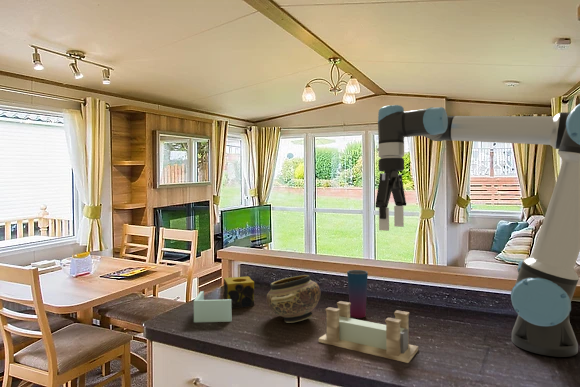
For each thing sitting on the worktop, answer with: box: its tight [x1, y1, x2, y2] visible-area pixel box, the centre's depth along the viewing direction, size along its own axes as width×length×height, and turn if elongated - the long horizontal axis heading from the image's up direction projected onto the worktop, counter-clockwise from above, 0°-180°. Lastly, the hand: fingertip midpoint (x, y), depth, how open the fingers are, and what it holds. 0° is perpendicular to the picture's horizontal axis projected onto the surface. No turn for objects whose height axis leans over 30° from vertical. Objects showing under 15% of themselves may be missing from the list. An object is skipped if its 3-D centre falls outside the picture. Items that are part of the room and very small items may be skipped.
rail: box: [325, 316, 408, 354], centre depth 104 cm, size 22×4×5 cm, turn 56°
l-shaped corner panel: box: [193, 290, 233, 323], centre depth 130 cm, size 12×12×8 cm
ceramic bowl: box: [265, 274, 322, 324], centre depth 125 cm, size 24×18×15 cm
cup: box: [346, 269, 369, 319], centre depth 129 cm, size 7×7×15 cm
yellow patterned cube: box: [222, 275, 255, 309], centre depth 142 cm, size 10×10×10 cm
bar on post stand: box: [318, 300, 419, 364], centre depth 104 cm, size 25×9×10 cm, turn 56°
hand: (391, 228), depth 116 cm, fingers open, 13 cm apart
